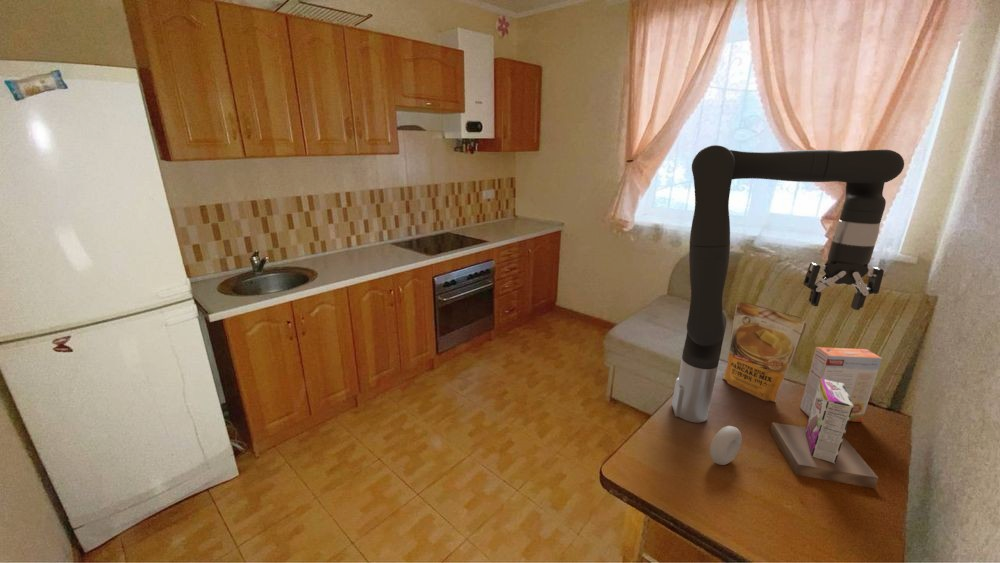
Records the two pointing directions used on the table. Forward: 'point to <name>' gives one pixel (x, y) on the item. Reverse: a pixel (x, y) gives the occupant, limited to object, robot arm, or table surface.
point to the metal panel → (802, 463)
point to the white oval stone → (725, 445)
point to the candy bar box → (828, 420)
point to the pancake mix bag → (761, 349)
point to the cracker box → (843, 376)
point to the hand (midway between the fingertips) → (834, 307)
